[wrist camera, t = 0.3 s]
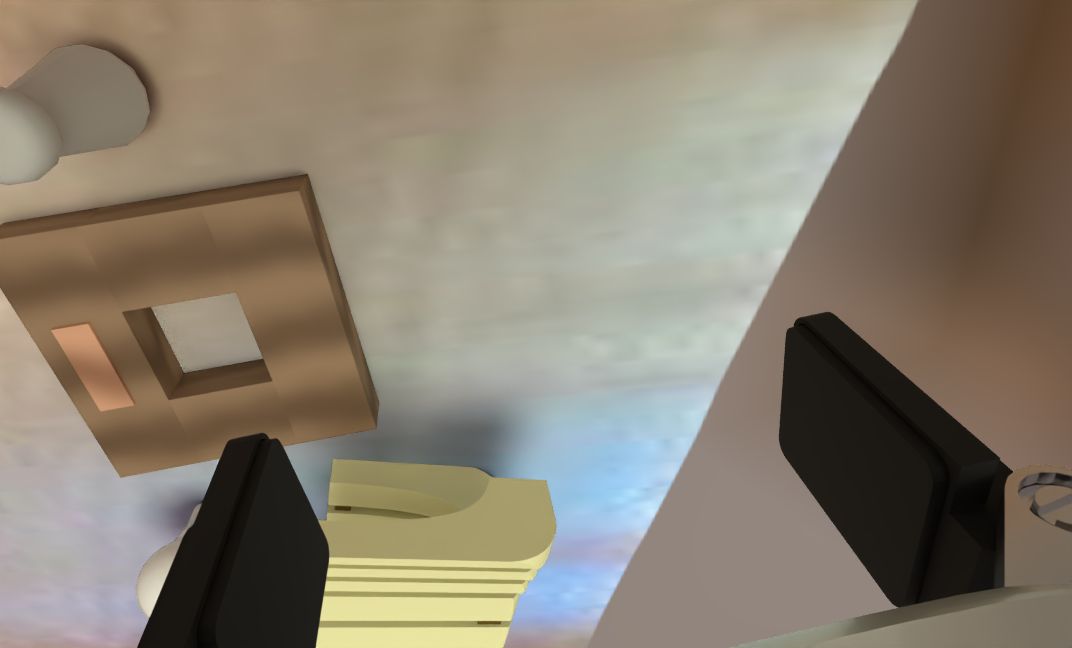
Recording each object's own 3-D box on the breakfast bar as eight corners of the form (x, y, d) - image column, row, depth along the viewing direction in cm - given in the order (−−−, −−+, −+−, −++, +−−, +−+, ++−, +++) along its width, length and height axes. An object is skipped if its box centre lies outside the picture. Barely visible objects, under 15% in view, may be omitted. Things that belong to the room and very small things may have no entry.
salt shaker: (170, 140, 41) (76, 209, 30) (71, 136, 40) (-63, 206, 29) (150, 42, 38) (39, 78, 27) (44, 35, 37) (-117, 70, 26)
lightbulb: (245, 535, 59) (212, 646, 50) (170, 528, 57) (121, 641, 48) (253, 486, 56) (219, 592, 47) (174, 477, 54) (123, 586, 45)
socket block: (4, 223, 42) (-31, 245, 39) (307, 174, 43) (298, 192, 40) (137, 447, 52) (118, 480, 49) (378, 402, 54) (376, 431, 51)
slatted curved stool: (469, 615, 70) (483, 799, 55) (319, 615, 66) (288, 812, 51) (526, 397, 56) (565, 563, 41) (340, 381, 52) (306, 556, 37)
